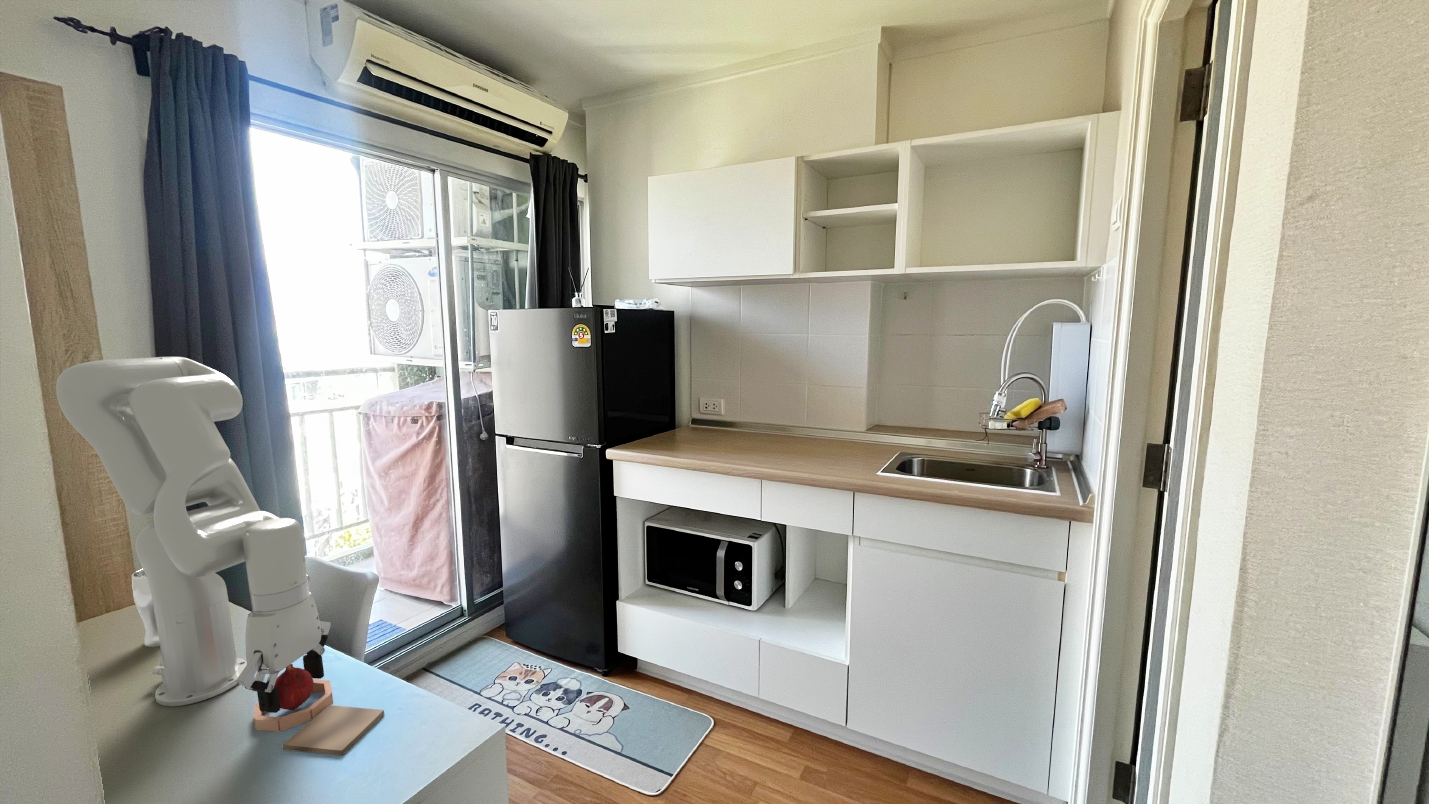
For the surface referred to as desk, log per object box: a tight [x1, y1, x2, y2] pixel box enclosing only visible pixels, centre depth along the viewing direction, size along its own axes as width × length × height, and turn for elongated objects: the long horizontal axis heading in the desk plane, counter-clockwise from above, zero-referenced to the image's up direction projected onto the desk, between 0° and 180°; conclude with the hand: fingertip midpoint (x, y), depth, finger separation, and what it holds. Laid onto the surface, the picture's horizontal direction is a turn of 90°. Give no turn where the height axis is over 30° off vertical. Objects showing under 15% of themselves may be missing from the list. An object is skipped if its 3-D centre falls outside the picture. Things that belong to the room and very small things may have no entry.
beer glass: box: [131, 568, 160, 648], centre depth 116 cm, size 7×7×15 cm
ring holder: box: [253, 678, 334, 733], centre depth 96 cm, size 10×10×2 cm
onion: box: [274, 663, 314, 711], centre depth 95 cm, size 6×6×8 cm
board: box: [281, 704, 385, 756], centre depth 91 cm, size 10×9×1 cm
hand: (293, 693), depth 96 cm, fingers open, 8 cm apart
